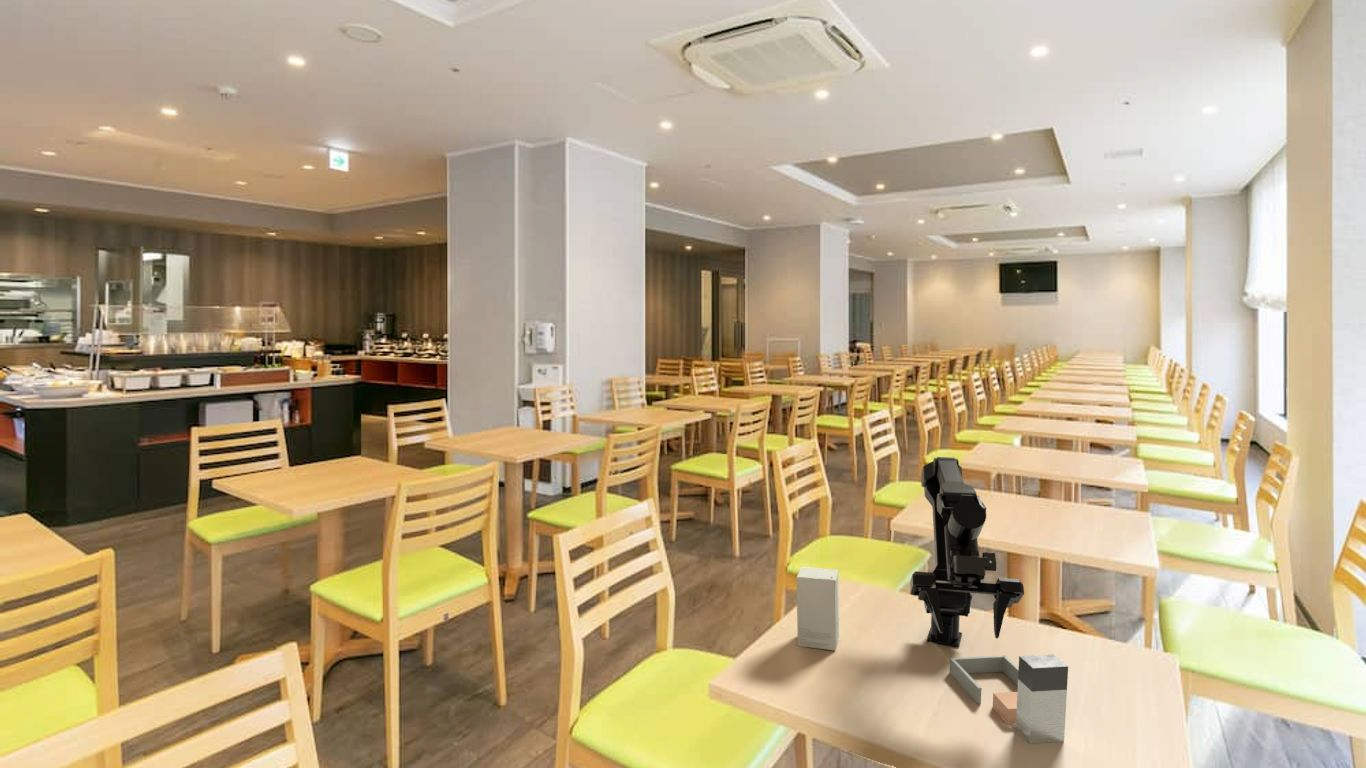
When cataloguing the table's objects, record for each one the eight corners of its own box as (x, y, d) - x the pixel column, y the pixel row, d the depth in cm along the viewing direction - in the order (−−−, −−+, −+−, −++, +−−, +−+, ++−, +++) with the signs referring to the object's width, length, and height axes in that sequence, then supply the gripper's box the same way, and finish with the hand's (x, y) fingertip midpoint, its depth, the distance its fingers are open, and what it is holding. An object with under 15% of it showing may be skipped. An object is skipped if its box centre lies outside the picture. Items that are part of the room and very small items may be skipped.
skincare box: (839, 638, 151) (840, 569, 149) (835, 652, 145) (837, 580, 143) (800, 633, 154) (801, 564, 152) (795, 646, 148) (796, 575, 146)
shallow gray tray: (949, 672, 137) (950, 658, 136) (1004, 669, 138) (1004, 655, 137) (977, 703, 126) (978, 688, 126) (1036, 700, 127) (1037, 684, 127)
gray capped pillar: (1015, 729, 118) (1019, 656, 117) (1049, 727, 119) (1053, 654, 118) (1029, 743, 114) (1033, 668, 113) (1064, 741, 115) (1068, 666, 114)
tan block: (992, 708, 125) (993, 692, 125) (1030, 707, 125) (1031, 691, 125) (1007, 725, 120) (1007, 708, 120) (1046, 723, 120) (1047, 707, 120)
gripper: (914, 530, 127) (917, 616, 118) (1025, 537, 123) (1037, 627, 114) (908, 553, 136) (911, 635, 127) (1012, 560, 132) (1022, 645, 123)
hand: (969, 635), depth 123 cm, fingers open, 9 cm apart
